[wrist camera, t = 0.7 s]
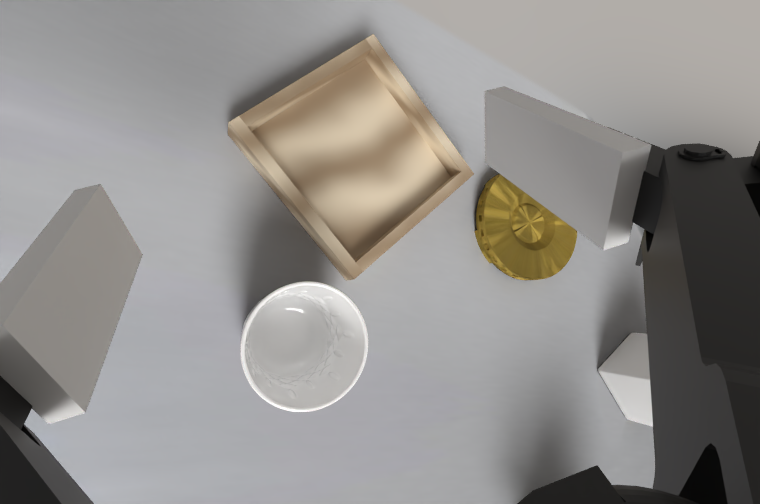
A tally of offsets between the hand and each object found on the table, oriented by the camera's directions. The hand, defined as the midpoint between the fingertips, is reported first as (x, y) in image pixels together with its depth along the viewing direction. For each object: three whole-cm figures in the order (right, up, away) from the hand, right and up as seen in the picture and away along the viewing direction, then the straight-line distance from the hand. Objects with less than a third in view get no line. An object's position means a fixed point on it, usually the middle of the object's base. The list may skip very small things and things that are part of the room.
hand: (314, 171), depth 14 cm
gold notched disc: (+17, 0, +31) cm, 36 cm away
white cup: (-6, -10, +21) cm, 23 cm away
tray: (0, +6, +24) cm, 25 cm away
